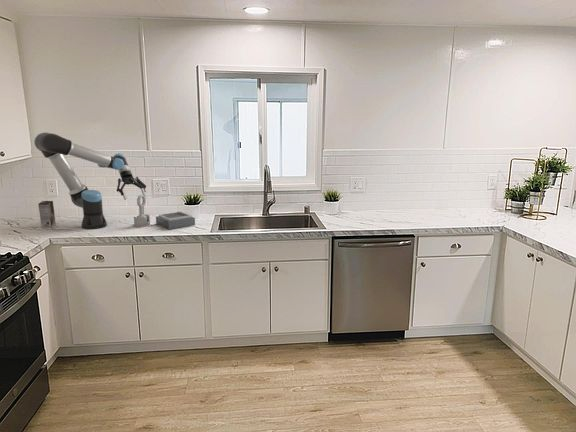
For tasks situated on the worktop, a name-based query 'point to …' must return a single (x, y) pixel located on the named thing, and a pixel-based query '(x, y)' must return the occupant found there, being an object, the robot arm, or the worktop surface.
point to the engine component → (141, 214)
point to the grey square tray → (175, 220)
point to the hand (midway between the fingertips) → (135, 197)
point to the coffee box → (47, 214)
